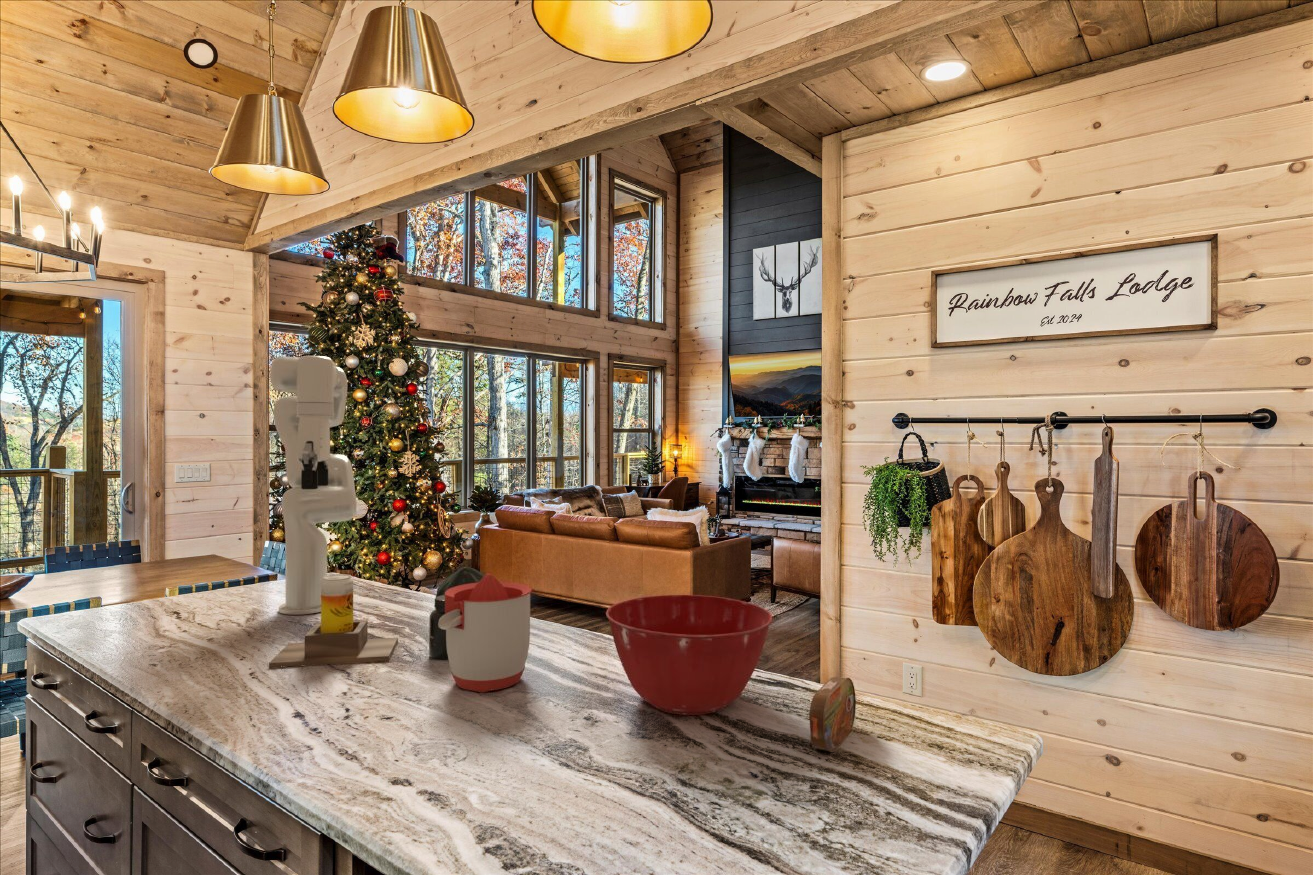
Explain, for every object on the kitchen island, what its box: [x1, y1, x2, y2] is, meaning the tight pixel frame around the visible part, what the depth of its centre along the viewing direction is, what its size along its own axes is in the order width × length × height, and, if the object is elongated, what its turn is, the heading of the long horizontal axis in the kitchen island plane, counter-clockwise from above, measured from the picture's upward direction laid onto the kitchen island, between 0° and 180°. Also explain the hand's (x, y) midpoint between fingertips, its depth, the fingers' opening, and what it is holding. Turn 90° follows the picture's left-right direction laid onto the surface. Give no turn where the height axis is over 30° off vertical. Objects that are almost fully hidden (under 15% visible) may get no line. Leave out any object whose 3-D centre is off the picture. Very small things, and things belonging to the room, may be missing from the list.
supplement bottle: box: [428, 595, 449, 661], centre depth 147 cm, size 7×7×12 cm
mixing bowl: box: [605, 594, 773, 716], centre depth 123 cm, size 28×28×16 cm
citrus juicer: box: [438, 573, 533, 693], centre depth 131 cm, size 16×17×20 cm
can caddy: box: [268, 619, 399, 668], centre depth 147 cm, size 13×22×6 cm, turn 102°
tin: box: [808, 676, 857, 753], centre depth 108 cm, size 15×3×8 cm, turn 148°
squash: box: [434, 566, 486, 610], centre depth 170 cm, size 14×15×15 cm
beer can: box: [320, 573, 354, 633], centre depth 147 cm, size 6×6×15 cm
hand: (315, 487), depth 161 cm, fingers open, 9 cm apart
